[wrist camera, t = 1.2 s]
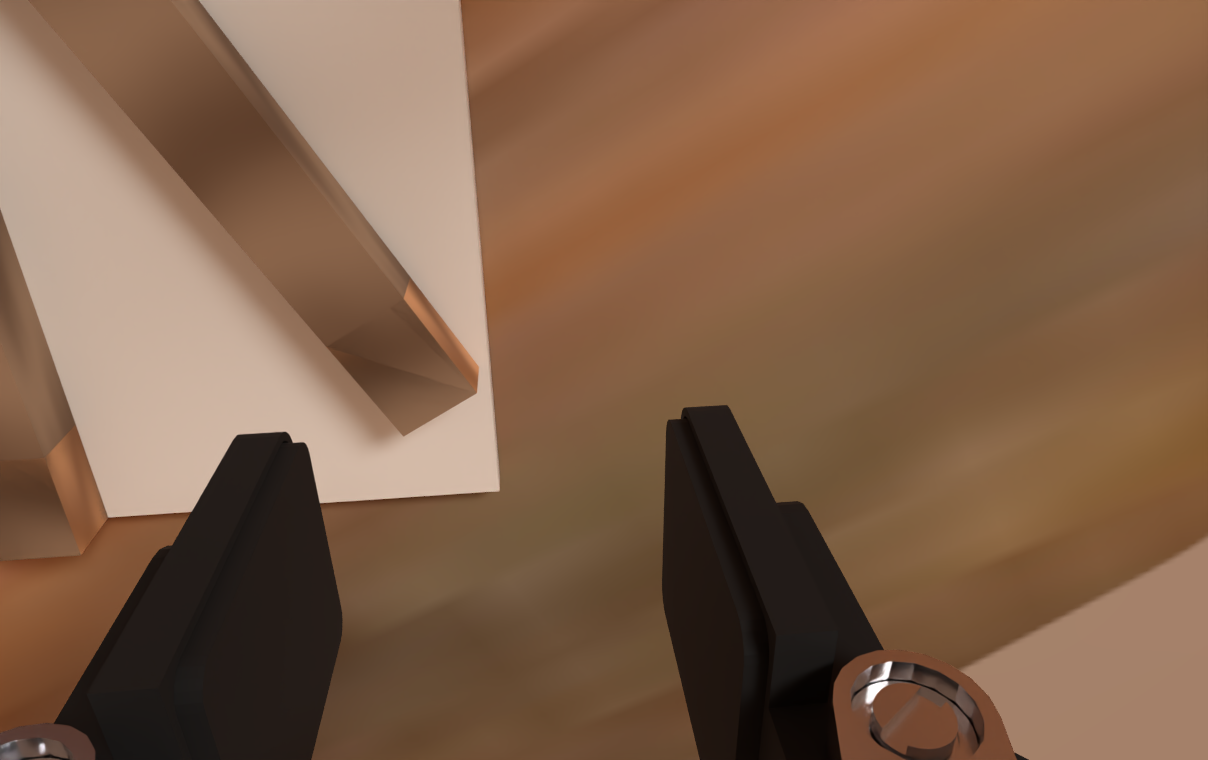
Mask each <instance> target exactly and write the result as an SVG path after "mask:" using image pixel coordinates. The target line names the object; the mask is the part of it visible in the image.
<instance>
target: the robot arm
mask: <svg viewBox="0 0 1208 760" xmlns="http://www.w3.org/2000/svg"><path fill="white" fill-rule="evenodd" d="M662 593H663V604H664V610H665V615H666V619H667V624H668V628H669V632H670V636H671V640H672V644H673V649H674V653H675V657H676V661H677V665H678V670H679V674H680V678H681V682H682V686H683V691H684V695H685V699H686V703H687V707H688V712H689V716H690V720H691V724H692V728H693V733H694V737H695V741H696V745H697V749H698V753H699V758H700V760H1028V759H1026V758H1024V757H1022V756H1020V755H1018V754H1016V753H1014V751H1013V748H1012V746H1011V743H1010V740H1009V738H1008V735H1007V732H1006V729H1005V727H1004V724H1003V722H1002V719H1001V717H1000V715H999V713H998V711H997V710H996V708H995V706H994V704H993V702H992V701H991V699H990V697H989V696H988V695H987V694H986V693H985V692H984V691H983V690H982V689H981V688H980V687H979V686H978V685H977V684H976V683H975V682H974V681H973V680H972V679H971V678H970V677H968V676H967V675H965V674H964V673H962V672H961V671H959V670H957V669H956V668H954V667H953V666H951V665H950V664H948V663H945V662H943V661H940V660H938V659H935V658H933V657H930V656H928V655H925V654H921V653H915V652H910V651H905V650H884V649H883V647H882V646H881V644H880V642H879V640H878V638H877V636H876V635H875V633H874V631H873V629H872V627H871V625H870V624H869V622H868V620H867V618H866V616H865V614H864V612H863V611H862V609H861V607H860V605H859V603H858V601H857V600H856V598H855V596H854V594H853V592H852V590H851V589H850V587H849V585H848V583H847V581H846V579H845V577H844V576H843V574H842V572H841V570H840V568H839V566H838V565H837V563H836V561H835V559H834V557H833V555H832V554H831V552H830V550H829V548H828V546H827V544H826V543H825V541H824V539H823V537H822V535H821V533H820V531H819V530H818V528H817V526H816V524H815V522H814V520H813V519H812V517H811V515H810V513H809V511H808V510H807V508H806V507H805V506H804V504H803V503H800V502H798V501H795V502H781V503H776V502H775V500H774V498H773V496H772V494H771V492H770V490H769V488H768V485H767V483H766V481H765V479H764V477H763V475H762V473H761V471H760V469H759V467H758V465H757V463H756V461H755V459H754V457H753V455H752V453H751V451H750V449H749V447H748V445H747V443H746V441H745V439H744V437H743V435H742V433H741V431H740V429H739V426H738V424H737V422H736V420H735V418H734V416H733V414H732V412H731V410H730V408H729V407H728V406H727V405H721V406H704V407H687V408H684V409H683V410H682V415H681V419H674V420H668V422H667V428H666V459H665V496H664V533H663V570H662ZM341 636H342V610H341V605H340V600H339V595H338V590H337V585H336V580H335V575H334V570H333V565H332V561H331V556H330V551H329V546H328V541H327V536H326V531H325V526H324V521H323V517H322V512H321V507H320V502H319V497H318V492H317V487H316V482H315V477H314V473H313V468H312V463H311V458H310V453H309V450H308V447H307V445H306V444H305V443H304V442H298V443H293V441H292V439H291V437H290V435H289V434H288V433H287V432H271V433H254V434H240V435H237V436H236V437H235V438H234V439H233V441H232V443H231V444H230V446H229V448H228V450H227V451H226V453H225V455H224V456H223V458H222V460H221V462H220V463H219V465H218V467H217V469H216V470H215V472H214V474H213V476H212V477H211V479H210V481H209V483H208V484H207V486H206V488H205V489H204V491H203V493H202V495H201V496H200V498H199V500H198V502H197V503H196V505H195V507H194V509H193V510H192V512H191V514H190V516H189V517H188V519H187V521H186V522H185V524H184V526H183V528H182V529H181V531H180V533H179V535H178V536H177V538H176V540H175V542H174V543H173V545H172V546H166V547H164V548H162V549H160V550H159V551H158V552H157V553H156V555H155V556H154V557H153V558H152V560H151V561H150V563H149V565H148V566H147V568H146V570H145V572H144V573H143V575H142V577H141V578H140V580H139V582H138V583H137V585H136V587H135V588H134V590H133V592H132V593H131V595H130V597H129V598H128V600H127V602H126V603H125V605H124V607H123V608H122V610H121V612H120V613H119V615H118V617H117V618H116V620H115V622H114V623H113V625H112V627H111V628H110V630H109V632H108V634H107V635H106V637H105V639H104V640H103V642H102V644H101V645H100V647H99V649H98V650H97V652H96V654H95V655H94V657H93V659H92V660H91V662H90V664H89V665H88V667H87V669H86V670H85V672H84V674H83V675H82V677H81V679H80V680H79V682H78V684H77V685H76V687H75V689H74V690H73V692H72V694H71V696H70V697H69V699H68V701H67V702H66V704H65V706H64V707H63V709H62V711H61V712H60V714H59V716H58V717H57V719H56V721H55V722H54V724H52V723H43V724H36V725H28V726H21V727H17V728H14V729H11V730H8V731H5V732H2V733H0V760H311V758H312V754H313V750H314V746H315V742H316V738H317V734H318V730H319V726H320V722H321V718H322V714H323V710H324V706H325V702H326V698H327V694H328V690H329V686H330V682H331V678H332V674H333V669H334V665H335V661H336V657H337V653H338V649H339V645H340V641H341Z"/></svg>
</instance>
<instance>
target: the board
mask: <svg viewBox="0 0 1208 760" xmlns="http://www.w3.org/2000/svg"><path fill="white" fill-rule="evenodd" d="M199 1H200V3H201V4H202V5H203V6H204V8H205V9H206V10H207V12H208V13H209V14H210V16H211V17H212V18H213V20H214V21H215V22H216V23H217V25H218V26H219V27H220V29H221V30H222V31H223V33H224V34H225V35H226V37H227V38H228V39H229V40H230V42H231V43H232V44H233V46H234V47H235V48H236V50H237V51H238V52H239V54H240V55H241V56H242V57H243V59H244V60H245V61H246V63H247V64H248V65H249V67H250V68H251V69H252V71H253V72H254V73H255V74H256V76H257V77H258V78H259V80H260V81H261V82H262V84H263V85H264V86H265V88H266V89H267V90H268V91H269V93H270V94H271V95H272V97H273V98H274V99H275V101H276V102H277V103H278V105H279V106H280V107H281V108H282V110H283V111H284V112H285V114H286V115H287V116H288V118H289V119H290V120H291V122H292V123H293V124H294V125H295V127H296V128H297V129H298V131H299V132H300V133H301V135H302V136H303V137H304V139H305V140H306V141H307V142H308V144H309V145H310V146H311V148H312V149H313V150H314V152H315V153H316V154H317V156H318V157H319V158H320V160H321V161H322V162H323V163H324V165H325V166H326V167H327V169H328V170H329V171H330V173H331V174H332V175H333V177H334V178H335V179H336V180H337V182H338V183H339V184H340V186H341V187H342V188H343V190H344V191H345V192H346V194H347V195H348V196H349V197H350V199H351V200H352V201H353V203H354V204H355V205H356V207H357V208H358V209H359V211H360V212H361V213H362V214H363V216H364V217H365V218H366V220H367V221H368V222H369V224H370V225H371V226H372V228H373V229H374V230H375V231H376V233H377V234H378V235H379V237H380V238H381V239H382V241H383V242H384V243H385V245H386V246H387V247H388V248H389V250H390V251H391V252H392V254H393V255H394V256H395V258H396V259H397V260H398V262H399V263H400V264H401V265H402V267H403V268H404V269H405V271H406V272H407V273H408V275H409V276H410V277H411V279H412V280H413V281H414V282H415V284H416V285H417V286H418V288H419V289H420V290H421V292H422V293H423V294H424V296H425V297H426V298H427V299H428V301H429V302H430V303H431V305H432V306H433V307H434V309H435V310H436V311H437V313H438V314H439V315H440V316H441V318H442V319H443V320H444V322H445V323H446V324H447V326H448V327H449V328H450V330H451V331H452V332H453V333H454V335H455V336H456V337H457V339H458V340H459V341H460V343H461V344H462V345H463V347H464V348H465V349H466V350H467V352H468V353H469V354H470V356H471V357H472V358H473V360H474V361H475V362H476V364H477V365H478V366H479V375H478V388H477V394H475V395H473V396H471V397H470V398H468V399H466V400H465V401H463V402H461V403H460V404H458V405H456V406H455V407H453V408H451V409H449V410H448V411H446V412H444V413H443V414H441V415H439V416H438V417H436V418H434V419H433V420H431V421H429V422H427V423H426V424H424V425H422V426H421V427H419V428H417V429H416V430H414V431H412V432H410V433H409V434H407V435H405V436H404V437H403V436H402V434H401V433H400V432H399V431H398V430H397V429H396V427H395V426H394V425H393V424H392V423H391V422H390V420H389V419H388V418H387V417H386V416H385V415H384V413H383V412H382V411H381V410H380V409H379V408H378V406H377V405H376V404H375V403H374V402H373V401H372V399H371V398H370V397H369V396H368V395H367V394H366V393H365V391H364V390H363V389H362V388H361V387H360V386H359V384H358V383H357V382H356V381H355V380H354V379H353V377H352V376H351V375H350V374H349V373H348V372H347V370H346V369H345V368H344V367H343V366H342V365H341V363H340V362H339V361H338V360H337V359H336V358H335V356H334V355H333V354H332V353H331V352H330V351H329V350H328V348H327V347H326V346H325V345H324V344H323V343H322V341H321V340H320V339H319V338H318V337H317V336H316V334H315V333H314V332H313V331H312V330H311V329H310V327H309V326H308V325H307V324H306V323H305V322H304V320H303V319H302V318H301V317H300V316H299V315H298V313H297V312H296V311H295V310H294V309H293V308H292V306H291V305H290V304H289V303H288V302H287V301H286V300H285V298H284V297H283V296H282V295H281V294H280V293H279V291H278V290H277V289H276V288H275V287H274V286H273V284H272V283H271V282H270V281H269V280H268V279H267V277H266V276H265V275H264V274H263V273H262V272H261V270H260V269H259V268H258V267H257V266H256V265H255V263H254V262H253V261H252V260H251V259H250V258H249V257H248V255H247V254H246V253H245V252H244V251H243V250H242V248H241V247H240V246H239V245H238V244H237V243H236V241H235V240H234V239H233V238H232V237H231V236H230V234H229V233H228V232H227V231H226V230H225V229H224V227H223V226H222V225H221V224H220V223H219V222H218V220H217V219H216V218H215V217H214V216H213V215H212V214H211V212H210V211H209V210H208V209H207V208H206V207H205V205H204V204H203V203H202V202H201V201H200V200H199V198H198V197H197V196H196V195H195V194H194V193H193V191H192V190H191V189H190V188H189V187H188V186H187V184H186V183H185V182H184V181H183V180H182V179H181V177H180V176H179V175H178V174H177V173H176V172H175V171H174V169H173V168H172V167H171V166H170V165H169V164H168V162H167V161H166V160H165V159H164V158H163V157H162V155H161V154H160V153H159V152H158V151H157V150H156V148H155V147H154V146H153V145H152V144H151V143H150V141H149V140H148V139H147V138H146V137H145V136H144V134H143V133H142V132H141V131H140V130H139V129H138V127H137V126H136V125H135V124H134V123H133V122H132V121H131V119H130V118H129V117H128V116H127V115H126V114H125V112H124V111H123V110H122V109H121V108H120V107H119V105H118V104H117V103H116V102H115V101H114V100H113V98H112V97H111V96H110V95H109V94H108V93H107V91H106V90H105V89H104V88H103V87H102V86H101V84H100V83H99V82H98V81H97V80H96V79H95V78H94V76H93V75H92V74H91V73H90V72H89V71H88V69H87V68H86V67H85V66H84V65H83V64H82V62H81V61H80V60H79V59H78V58H77V57H76V55H75V54H74V53H73V52H72V51H71V50H70V48H69V47H68V46H67V45H66V44H65V43H64V41H63V40H62V39H61V38H60V37H59V36H58V35H57V33H56V32H55V31H54V30H53V29H52V28H51V26H50V25H49V24H48V23H47V22H46V21H45V19H44V18H43V17H42V16H41V15H40V14H39V12H38V11H37V10H36V9H35V8H34V7H33V5H32V4H31V3H30V2H29V1H28V0H0V210H1V212H2V215H3V218H4V221H5V224H6V227H7V230H8V232H9V235H10V238H11V241H12V244H13V247H14V250H15V252H16V255H17V258H18V261H19V264H20V267H21V270H22V272H23V275H24V278H25V281H26V284H27V287H28V290H29V292H30V295H31V298H32V301H33V304H34V307H35V310H36V312H37V315H38V318H39V321H40V324H41V327H42V330H43V332H44V335H45V338H46V341H47V344H48V347H49V350H50V352H51V355H52V358H53V361H54V364H55V367H56V370H57V372H58V375H59V378H60V381H61V384H62V387H63V390H64V392H65V395H66V398H67V401H68V404H69V407H70V410H71V412H72V415H73V418H74V421H75V424H76V427H77V430H78V432H79V435H80V438H81V441H82V444H83V447H84V450H85V452H86V455H87V458H88V461H89V464H90V467H91V470H92V472H93V475H94V478H95V481H96V484H97V487H98V490H99V492H100V495H101V498H102V501H103V504H104V507H105V510H106V512H107V515H108V517H123V516H138V515H153V514H167V513H182V512H192V510H193V509H194V507H195V505H196V503H197V502H198V500H199V498H200V496H201V495H202V493H203V491H204V489H205V488H206V486H207V484H208V483H209V481H210V479H211V477H212V476H213V474H214V472H215V470H216V469H217V467H218V465H219V463H220V462H221V460H222V458H223V456H224V455H225V453H226V451H227V450H228V448H229V446H230V444H231V443H232V441H233V439H234V438H235V437H236V436H237V435H240V434H254V433H271V432H287V433H288V434H289V435H290V437H291V439H292V441H293V443H298V442H304V443H305V444H306V445H307V447H308V450H309V453H310V458H311V463H312V468H313V473H314V477H315V482H316V487H317V492H318V497H319V502H320V503H330V502H345V501H360V500H375V499H390V498H404V497H419V496H434V495H449V494H464V493H478V492H493V491H500V474H499V461H498V449H497V437H496V425H495V413H494V401H493V388H492V376H491V364H490V352H489V340H488V328H487V315H486V303H485V291H484V279H483V267H482V255H481V242H480V230H479V218H478V206H477V194H476V182H475V170H474V157H473V145H472V133H471V121H470V109H469V97H468V84H467V72H466V60H465V48H464V36H463V24H462V11H461V0H199Z"/></svg>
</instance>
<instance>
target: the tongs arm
mask: <svg viewBox="0 0 1208 760" xmlns="http://www.w3.org/2000/svg"><path fill="white" fill-rule="evenodd" d="M28 1H29V2H30V3H31V4H32V5H33V7H34V8H35V9H36V10H37V11H38V12H39V14H40V15H41V16H42V17H43V18H44V19H45V21H46V22H47V23H48V24H49V25H50V26H51V28H52V29H53V30H54V31H55V32H56V33H57V35H58V36H59V37H60V38H61V39H62V40H63V41H64V43H65V44H66V45H67V46H68V47H69V48H70V50H71V51H72V52H73V53H74V54H75V55H76V57H77V58H78V59H79V60H80V61H81V62H82V64H83V65H84V66H85V67H86V68H87V69H88V71H89V72H90V73H91V74H92V75H93V76H94V78H95V79H96V80H97V81H98V82H99V83H100V84H101V86H102V87H103V88H104V89H105V90H106V91H107V93H108V94H109V95H110V96H111V97H112V98H113V100H114V101H115V102H116V103H117V104H118V105H119V107H120V108H121V109H122V110H123V111H124V112H125V114H126V115H127V116H128V117H129V118H130V119H131V121H132V122H133V123H134V124H135V125H136V126H137V127H138V129H139V130H140V131H141V132H142V133H143V134H144V136H145V137H146V138H147V139H148V140H149V141H150V143H151V144H152V145H153V146H154V147H155V148H156V150H157V151H158V152H159V153H160V154H161V155H162V157H163V158H164V159H165V160H166V161H167V162H168V164H169V165H170V166H171V167H172V168H173V169H174V171H175V172H176V173H177V174H178V175H179V176H180V177H181V179H182V180H183V181H184V182H185V183H186V184H187V186H188V187H189V188H190V189H191V190H192V191H193V193H194V194H195V195H196V196H197V197H198V198H199V200H200V201H201V202H202V203H203V204H204V205H205V207H206V208H207V209H208V210H209V211H210V212H211V214H212V215H213V216H214V217H215V218H216V219H217V220H218V222H219V223H220V224H221V225H222V226H223V227H224V229H225V230H226V231H227V232H228V233H229V234H230V236H231V237H232V238H233V239H234V240H235V241H236V243H237V244H238V245H239V246H240V247H241V248H242V250H243V251H244V252H245V253H246V254H247V255H248V257H249V258H250V259H251V260H252V261H253V262H254V263H255V265H256V266H257V267H258V268H259V269H260V270H261V272H262V273H263V274H264V275H265V276H266V277H267V279H268V280H269V281H270V282H271V283H272V284H273V286H274V287H275V288H276V289H277V290H278V291H279V293H280V294H281V295H282V296H283V297H284V298H285V300H286V301H287V302H288V303H289V304H290V305H291V306H292V308H293V309H294V310H295V311H296V312H297V313H298V315H299V316H300V317H301V318H302V319H303V320H304V322H305V323H306V324H307V325H308V326H309V327H310V329H311V330H312V331H313V332H314V333H315V334H316V336H317V337H318V338H319V339H320V340H321V341H322V343H323V344H324V345H325V346H326V347H327V348H328V350H329V351H330V352H331V353H332V354H333V355H334V356H335V358H336V359H337V360H338V361H339V362H340V363H341V365H342V366H343V367H344V368H345V369H346V370H347V372H348V373H349V374H350V375H351V376H352V377H353V379H354V380H355V381H356V382H357V383H358V384H359V386H360V387H361V388H362V389H363V390H364V391H365V393H366V394H367V395H368V396H369V397H370V398H371V399H372V401H373V402H374V403H375V404H376V405H377V406H378V408H379V409H380V410H381V411H382V412H383V413H384V415H385V416H386V417H387V418H388V419H389V420H390V422H391V423H392V424H393V425H394V426H395V427H396V429H397V430H398V431H399V432H400V433H401V434H402V436H403V437H404V436H405V435H407V434H409V433H410V432H412V431H414V430H416V429H417V428H419V427H421V426H422V425H424V424H426V423H427V422H429V421H431V420H433V419H434V418H436V417H438V416H439V415H441V414H443V413H444V412H446V411H448V410H449V409H451V408H453V407H455V406H456V405H458V404H460V403H461V402H463V401H465V400H466V399H468V398H470V397H471V396H473V395H475V394H477V388H478V375H479V366H478V365H477V364H476V362H475V361H474V360H473V358H472V357H471V356H470V354H469V353H468V352H467V350H466V349H465V348H464V347H463V345H462V344H461V343H460V341H459V340H458V339H457V337H456V336H455V335H454V333H453V332H452V331H451V330H450V328H449V327H448V326H447V324H446V323H445V322H444V320H443V319H442V318H441V316H440V315H439V314H438V313H437V311H436V310H435V309H434V307H433V306H432V305H431V303H430V302H429V301H428V299H427V298H426V297H425V296H424V294H423V293H422V292H421V290H420V289H419V288H418V286H417V285H416V284H415V282H414V281H413V280H412V279H411V277H410V276H409V275H408V273H407V272H406V271H405V269H404V268H403V267H402V265H401V264H400V263H399V262H398V260H397V259H396V258H395V256H394V255H393V254H392V252H391V251H390V250H389V248H388V247H387V246H386V245H385V243H384V242H383V241H382V239H381V238H380V237H379V235H378V234H377V233H376V231H375V230H374V229H373V228H372V226H371V225H370V224H369V222H368V221H367V220H366V218H365V217H364V216H363V214H362V213H361V212H360V211H359V209H358V208H357V207H356V205H355V204H354V203H353V201H352V200H351V199H350V197H349V196H348V195H347V194H346V192H345V191H344V190H343V188H342V187H341V186H340V184H339V183H338V182H337V180H336V179H335V178H334V177H333V175H332V174H331V173H330V171H329V170H328V169H327V167H326V166H325V165H324V163H323V162H322V161H321V160H320V158H319V157H318V156H317V154H316V153H315V152H314V150H313V149H312V148H311V146H310V145H309V144H308V142H307V141H306V140H305V139H304V137H303V136H302V135H301V133H300V132H299V131H298V129H297V128H296V127H295V125H294V124H293V123H292V122H291V120H290V119H289V118H288V116H287V115H286V114H285V112H284V111H283V110H282V108H281V107H280V106H279V105H278V103H277V102H276V101H275V99H274V98H273V97H272V95H271V94H270V93H269V91H268V90H267V89H266V88H265V86H264V85H263V84H262V82H261V81H260V80H259V78H258V77H257V76H256V74H255V73H254V72H253V71H252V69H251V68H250V67H249V65H248V64H247V63H246V61H245V60H244V59H243V57H242V56H241V55H240V54H239V52H238V51H237V50H236V48H235V47H234V46H233V44H232V43H231V42H230V40H229V39H228V38H227V37H226V35H225V34H224V33H223V31H222V30H221V29H220V27H219V26H218V25H217V23H216V22H215V21H214V20H213V18H212V17H211V16H210V14H209V13H208V12H207V10H206V9H205V8H204V6H203V5H202V4H201V3H200V1H199V0H28Z"/></svg>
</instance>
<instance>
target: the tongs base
mask: <svg viewBox="0 0 1208 760" xmlns="http://www.w3.org/2000/svg"><path fill="white" fill-rule="evenodd" d="M107 519H108V515H107V512H106V510H105V507H104V504H103V501H102V498H101V495H100V492H99V490H98V487H97V484H96V481H95V478H94V475H93V472H92V470H91V467H90V464H89V461H88V458H87V455H86V452H85V450H84V447H83V444H82V441H81V438H80V435H79V432H78V430H77V427H76V424H75V421H74V418H73V415H72V412H71V410H70V407H69V404H68V401H67V398H66V395H65V392H64V390H63V387H62V384H61V381H60V378H59V375H58V372H57V370H56V367H55V364H54V361H53V358H52V355H51V352H50V350H49V347H48V344H47V341H46V338H45V335H44V332H43V330H42V327H41V324H40V321H39V318H38V315H37V312H36V310H35V307H34V304H33V301H32V298H31V295H30V292H29V290H28V287H27V284H26V281H25V278H24V275H23V272H22V270H21V267H20V264H19V261H18V258H17V255H16V252H15V250H14V247H13V244H12V241H11V238H10V235H9V232H8V230H7V227H6V224H5V221H4V218H3V215H2V212H1V210H0V561H7V560H22V559H36V558H50V557H64V556H78V555H82V553H83V552H84V550H85V549H86V548H87V546H88V545H89V544H90V542H91V541H92V539H93V538H94V537H95V535H96V534H97V532H98V531H99V530H100V528H101V527H102V525H103V524H104V523H105V521H106V520H107Z"/></svg>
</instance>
